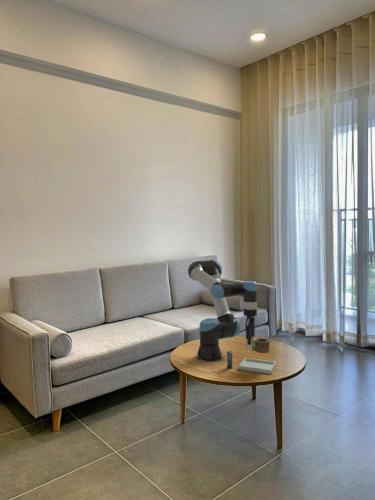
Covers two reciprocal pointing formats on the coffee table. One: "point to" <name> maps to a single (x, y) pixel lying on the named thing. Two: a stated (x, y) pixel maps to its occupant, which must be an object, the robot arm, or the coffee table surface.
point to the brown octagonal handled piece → (261, 345)
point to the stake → (229, 360)
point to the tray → (257, 365)
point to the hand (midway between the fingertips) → (250, 348)
